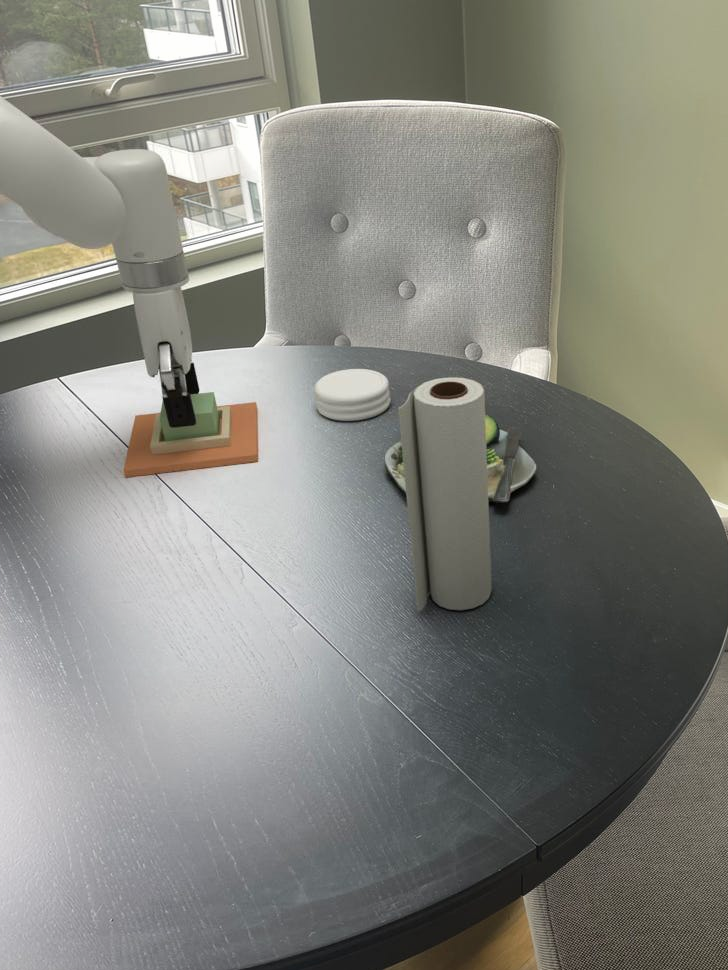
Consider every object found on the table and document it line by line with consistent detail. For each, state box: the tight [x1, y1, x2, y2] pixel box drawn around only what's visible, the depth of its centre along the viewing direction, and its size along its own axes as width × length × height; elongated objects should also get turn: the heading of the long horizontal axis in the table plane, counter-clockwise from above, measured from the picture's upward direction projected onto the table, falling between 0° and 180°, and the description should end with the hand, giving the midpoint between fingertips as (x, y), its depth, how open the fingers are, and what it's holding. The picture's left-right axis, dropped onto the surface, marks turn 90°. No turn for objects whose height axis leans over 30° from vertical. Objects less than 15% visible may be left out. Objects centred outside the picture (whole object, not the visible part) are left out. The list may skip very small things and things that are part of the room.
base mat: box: [122, 401, 259, 478], centre depth 124 cm, size 16×16×2 cm
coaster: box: [313, 368, 391, 422], centre depth 130 cm, size 10×10×4 cm
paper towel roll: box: [397, 376, 493, 613], centre depth 89 cm, size 7×6×21 cm
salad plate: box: [383, 413, 537, 504], centre depth 113 cm, size 19×18×5 cm
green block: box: [159, 391, 220, 441], centre depth 123 cm, size 6×6×4 cm
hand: (185, 409), depth 122 cm, fingers open, 9 cm apart
